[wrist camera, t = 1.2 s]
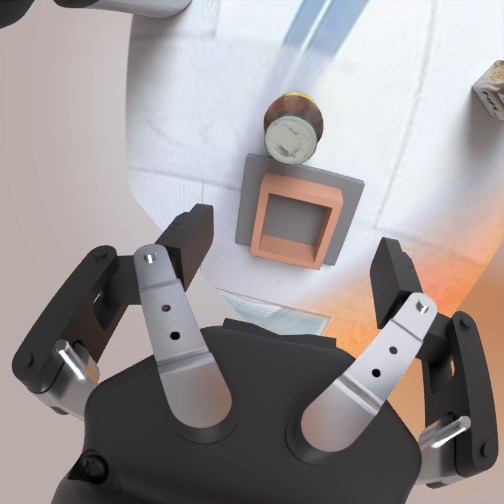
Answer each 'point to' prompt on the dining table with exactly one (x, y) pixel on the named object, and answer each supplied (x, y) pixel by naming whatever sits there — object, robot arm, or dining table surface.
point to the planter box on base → (295, 211)
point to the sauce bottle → (292, 128)
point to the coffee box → (492, 90)
